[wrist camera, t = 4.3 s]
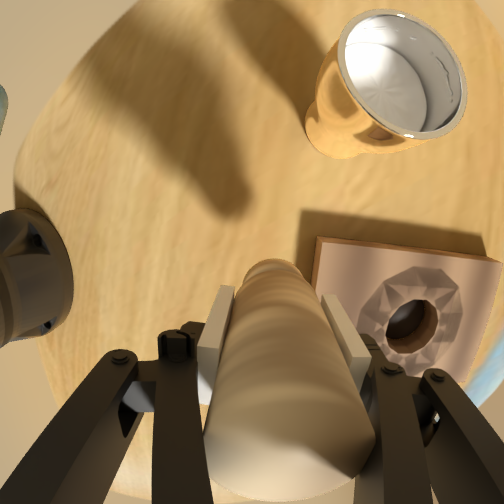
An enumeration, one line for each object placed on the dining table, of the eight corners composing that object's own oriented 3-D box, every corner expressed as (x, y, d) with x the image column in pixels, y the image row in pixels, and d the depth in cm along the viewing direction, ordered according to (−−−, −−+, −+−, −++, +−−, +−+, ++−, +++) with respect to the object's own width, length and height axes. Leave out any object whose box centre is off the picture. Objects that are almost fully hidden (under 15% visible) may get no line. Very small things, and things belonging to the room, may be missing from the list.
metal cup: (297, 159, 26) (331, 129, 11) (300, 85, 24) (330, -9, 9) (373, 168, 25) (473, 158, 11) (375, 96, 24) (462, 30, 9)
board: (295, 370, 30) (297, 388, 27) (316, 235, 27) (322, 242, 24) (453, 368, 29) (464, 381, 26) (487, 256, 26) (503, 263, 23)
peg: (235, 319, 21) (202, 496, 7) (239, 251, 20) (194, 392, 6) (305, 323, 21) (349, 497, 7) (313, 256, 20) (399, 395, 6)
